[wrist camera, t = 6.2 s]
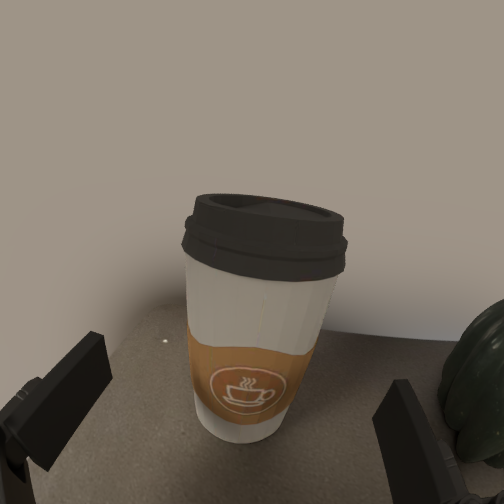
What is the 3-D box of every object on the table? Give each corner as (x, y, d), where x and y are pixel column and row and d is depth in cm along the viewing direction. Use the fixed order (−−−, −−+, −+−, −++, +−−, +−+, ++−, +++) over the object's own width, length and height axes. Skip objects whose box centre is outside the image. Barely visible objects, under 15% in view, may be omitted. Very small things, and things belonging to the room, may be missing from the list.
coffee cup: (171, 448, 14) (158, 206, 9) (193, 371, 22) (203, 188, 17) (299, 460, 14) (384, 236, 10) (290, 381, 22) (330, 205, 18)
